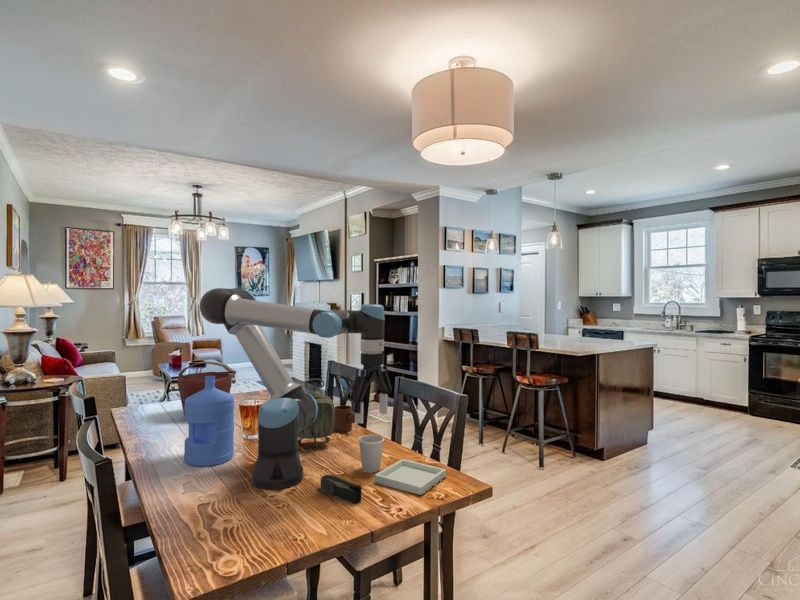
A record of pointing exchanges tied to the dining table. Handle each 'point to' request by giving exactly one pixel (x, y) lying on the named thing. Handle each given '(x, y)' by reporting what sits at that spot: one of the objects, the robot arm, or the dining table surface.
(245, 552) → the dining table surface
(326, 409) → the tabletop clock
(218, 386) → the bucket
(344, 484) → the dark green rounded block
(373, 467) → the dixie cup
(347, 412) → the mug
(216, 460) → the water jug
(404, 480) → the tray
